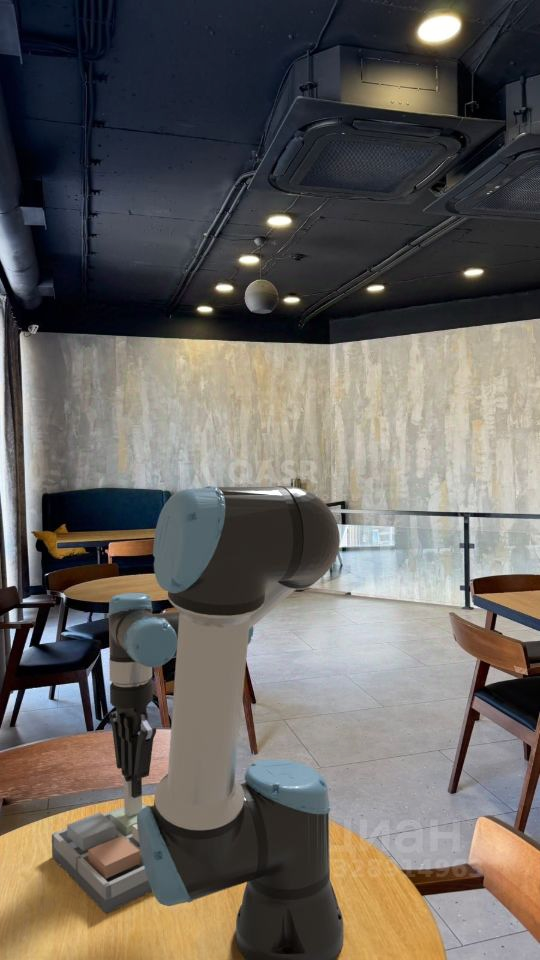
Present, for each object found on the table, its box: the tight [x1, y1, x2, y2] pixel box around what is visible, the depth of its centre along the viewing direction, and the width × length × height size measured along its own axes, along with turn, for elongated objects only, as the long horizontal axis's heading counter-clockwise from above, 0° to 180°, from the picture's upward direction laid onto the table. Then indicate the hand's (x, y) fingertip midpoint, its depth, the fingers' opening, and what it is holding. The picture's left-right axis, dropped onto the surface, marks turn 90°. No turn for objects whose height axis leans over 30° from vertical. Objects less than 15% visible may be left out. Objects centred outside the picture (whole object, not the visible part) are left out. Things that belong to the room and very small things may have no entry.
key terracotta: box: [88, 836, 140, 879], centre depth 102 cm, size 6×6×2 cm
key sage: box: [110, 803, 147, 837], centre depth 113 cm, size 6×6×2 cm
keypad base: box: [51, 802, 152, 915], centre depth 107 cm, size 20×17×4 cm
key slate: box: [66, 812, 116, 851], centre depth 108 cm, size 6×6×2 cm
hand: (133, 812), depth 113 cm, fingers closed
